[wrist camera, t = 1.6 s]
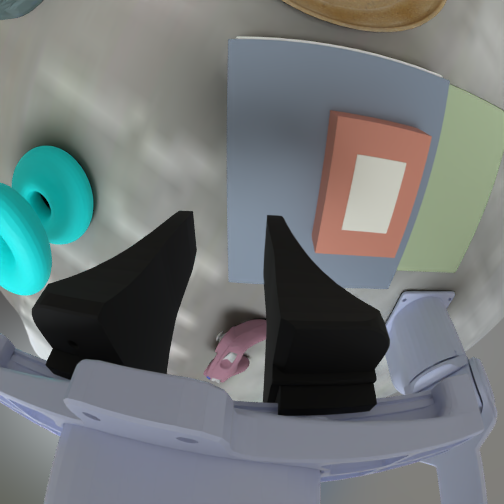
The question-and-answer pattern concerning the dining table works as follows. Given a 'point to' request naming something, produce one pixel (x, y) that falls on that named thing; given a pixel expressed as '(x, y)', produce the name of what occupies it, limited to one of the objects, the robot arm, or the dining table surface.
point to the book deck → (311, 141)
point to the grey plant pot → (16, 8)
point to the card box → (367, 185)
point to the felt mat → (456, 184)
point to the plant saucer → (372, 13)
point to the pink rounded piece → (235, 349)
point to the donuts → (40, 216)
